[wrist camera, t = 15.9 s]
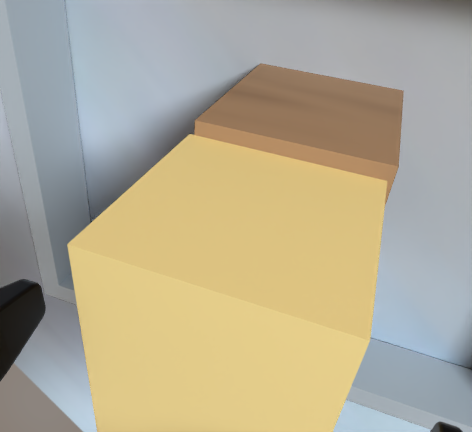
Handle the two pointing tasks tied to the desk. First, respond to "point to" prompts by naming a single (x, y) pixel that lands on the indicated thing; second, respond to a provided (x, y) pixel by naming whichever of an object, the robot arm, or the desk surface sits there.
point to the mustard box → (228, 292)
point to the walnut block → (311, 120)
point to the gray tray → (78, 216)
